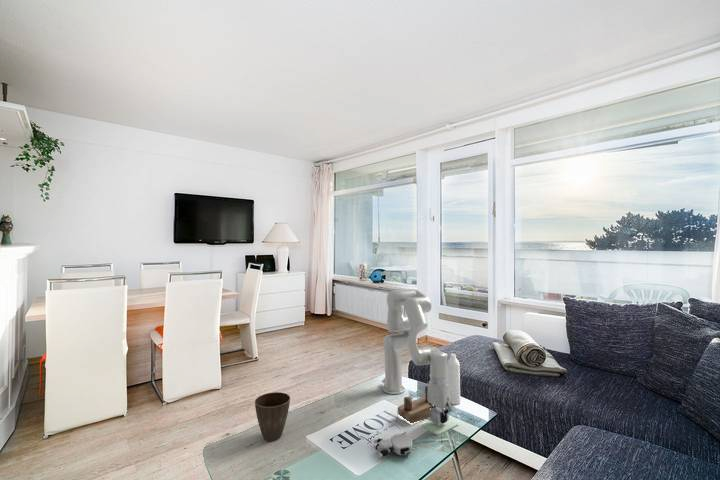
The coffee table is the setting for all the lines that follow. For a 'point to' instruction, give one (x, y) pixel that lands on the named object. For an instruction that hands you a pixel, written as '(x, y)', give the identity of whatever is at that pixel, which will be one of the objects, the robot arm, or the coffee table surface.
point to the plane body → (415, 408)
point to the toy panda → (394, 445)
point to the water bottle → (453, 379)
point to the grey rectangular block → (437, 415)
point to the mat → (439, 427)
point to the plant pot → (272, 414)
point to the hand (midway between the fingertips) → (439, 419)
